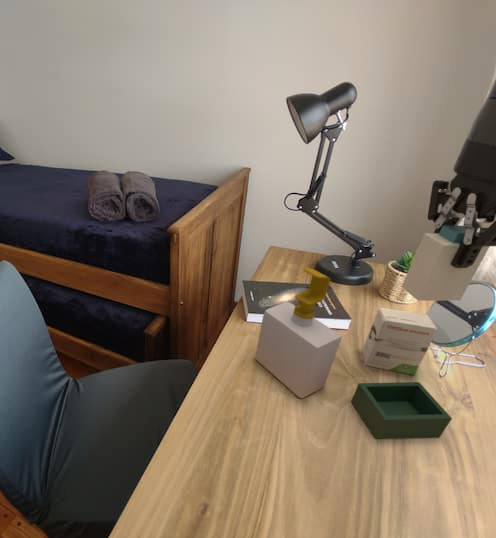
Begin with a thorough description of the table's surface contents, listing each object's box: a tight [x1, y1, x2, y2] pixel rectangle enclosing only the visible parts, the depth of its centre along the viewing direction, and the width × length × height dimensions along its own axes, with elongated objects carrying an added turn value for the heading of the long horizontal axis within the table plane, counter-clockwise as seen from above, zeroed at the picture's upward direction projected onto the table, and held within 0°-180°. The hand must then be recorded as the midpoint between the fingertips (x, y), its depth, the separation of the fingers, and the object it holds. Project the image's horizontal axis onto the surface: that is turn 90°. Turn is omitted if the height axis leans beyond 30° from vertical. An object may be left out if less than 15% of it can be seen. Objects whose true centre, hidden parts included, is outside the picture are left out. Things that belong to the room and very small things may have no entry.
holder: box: [350, 381, 453, 440], centre depth 60 cm, size 11×7×5 cm
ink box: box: [361, 306, 438, 376], centre depth 70 cm, size 9×5×12 cm, turn 71°
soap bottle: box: [254, 268, 342, 399], centre depth 65 cm, size 12×7×23 cm, turn 27°
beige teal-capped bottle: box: [401, 225, 491, 302], centre depth 54 cm, size 4×6×11 cm, turn 90°
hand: (447, 258), depth 53 cm, fingers closed on beige teal-capped bottle, 4 cm apart
